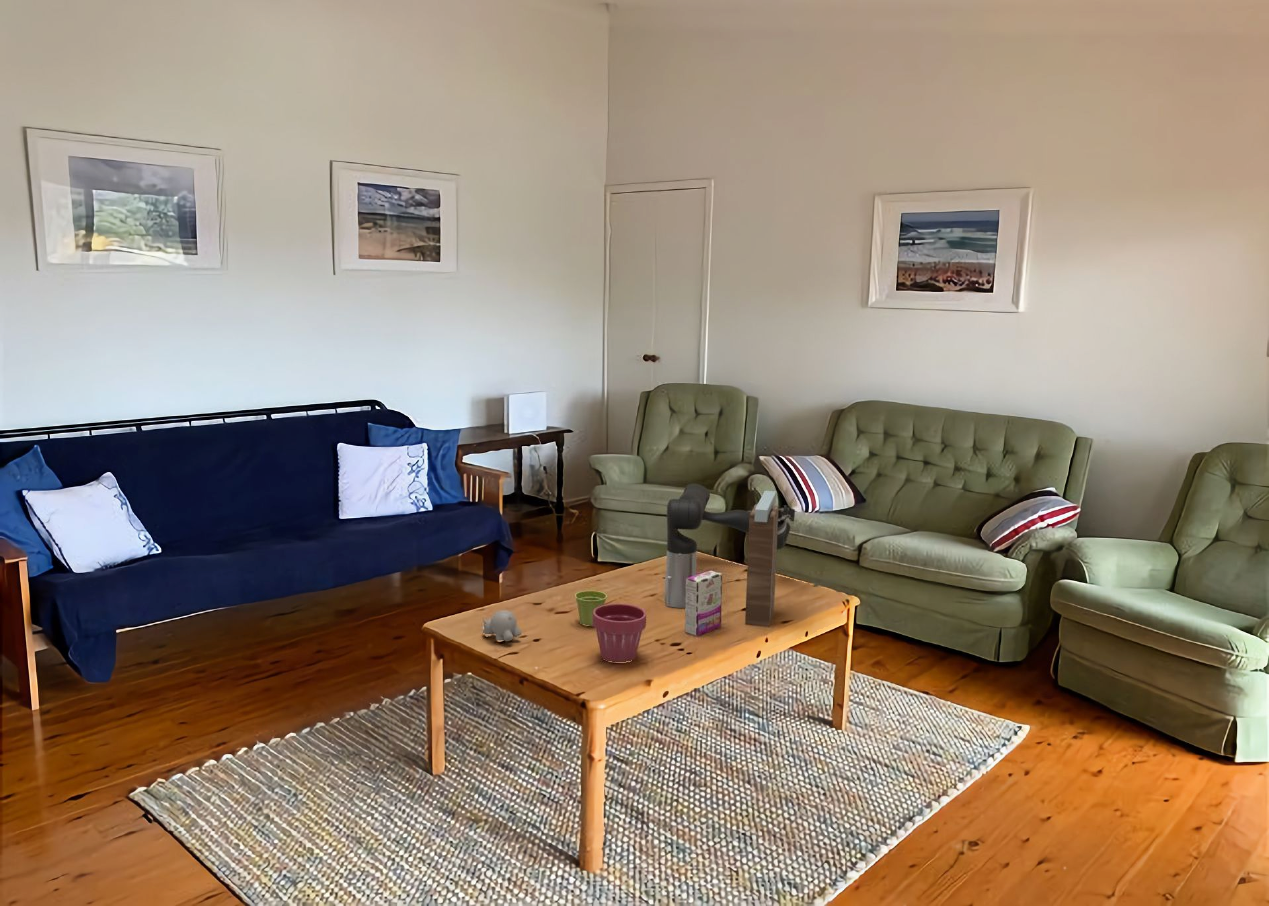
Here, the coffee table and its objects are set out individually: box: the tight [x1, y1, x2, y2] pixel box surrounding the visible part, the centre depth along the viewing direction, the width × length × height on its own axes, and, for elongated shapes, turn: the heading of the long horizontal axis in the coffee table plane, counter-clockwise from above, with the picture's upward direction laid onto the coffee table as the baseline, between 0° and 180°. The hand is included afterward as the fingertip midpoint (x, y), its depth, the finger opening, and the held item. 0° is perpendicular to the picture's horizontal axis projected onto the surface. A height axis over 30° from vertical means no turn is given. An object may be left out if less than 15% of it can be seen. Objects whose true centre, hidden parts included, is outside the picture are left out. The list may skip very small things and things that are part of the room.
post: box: [744, 504, 779, 628], centre depth 284 cm, size 14×7×33 cm, turn 166°
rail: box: [754, 490, 777, 522], centre depth 284 cm, size 26×4×4 cm, turn 166°
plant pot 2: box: [592, 603, 647, 662], centre depth 254 cm, size 14×14×13 cm
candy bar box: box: [684, 570, 723, 637], centre depth 275 cm, size 11×5×16 cm, turn 136°
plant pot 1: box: [574, 590, 608, 627], centre depth 279 cm, size 9×9×9 cm
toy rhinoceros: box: [481, 609, 522, 642], centre depth 266 cm, size 7×12×8 cm, turn 55°
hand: (771, 507), depth 304 cm, fingers open, 8 cm apart
